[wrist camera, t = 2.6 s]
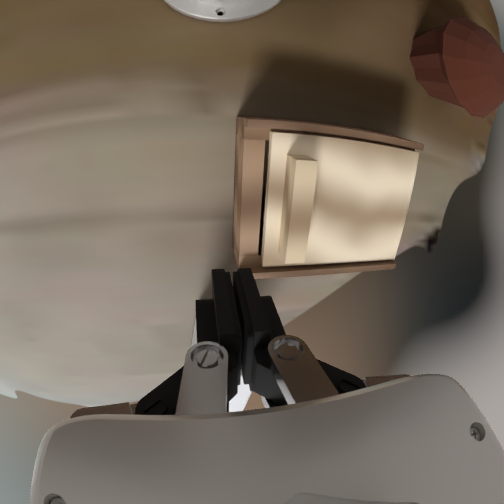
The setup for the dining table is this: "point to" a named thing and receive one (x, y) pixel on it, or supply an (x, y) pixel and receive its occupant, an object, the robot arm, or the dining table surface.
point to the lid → (334, 200)
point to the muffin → (461, 66)
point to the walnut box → (254, 191)
